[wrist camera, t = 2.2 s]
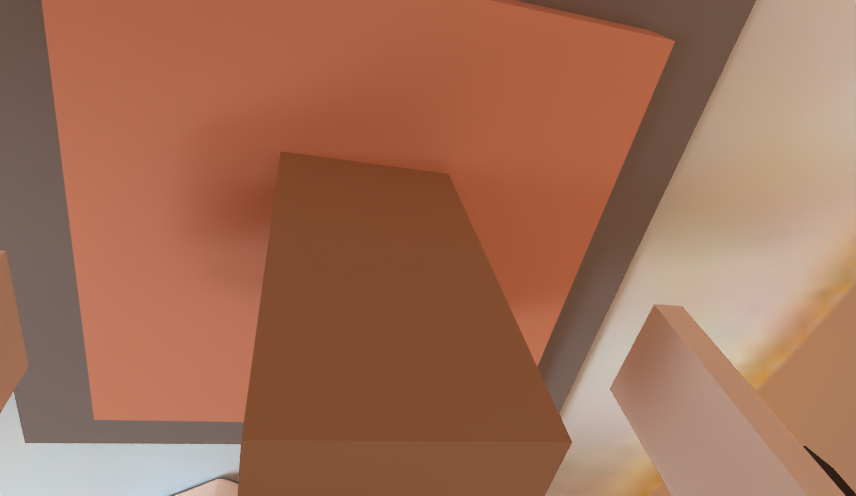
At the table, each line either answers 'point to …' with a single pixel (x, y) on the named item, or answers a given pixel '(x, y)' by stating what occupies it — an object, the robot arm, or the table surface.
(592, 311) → the mat
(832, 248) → the table surface
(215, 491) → the jar
